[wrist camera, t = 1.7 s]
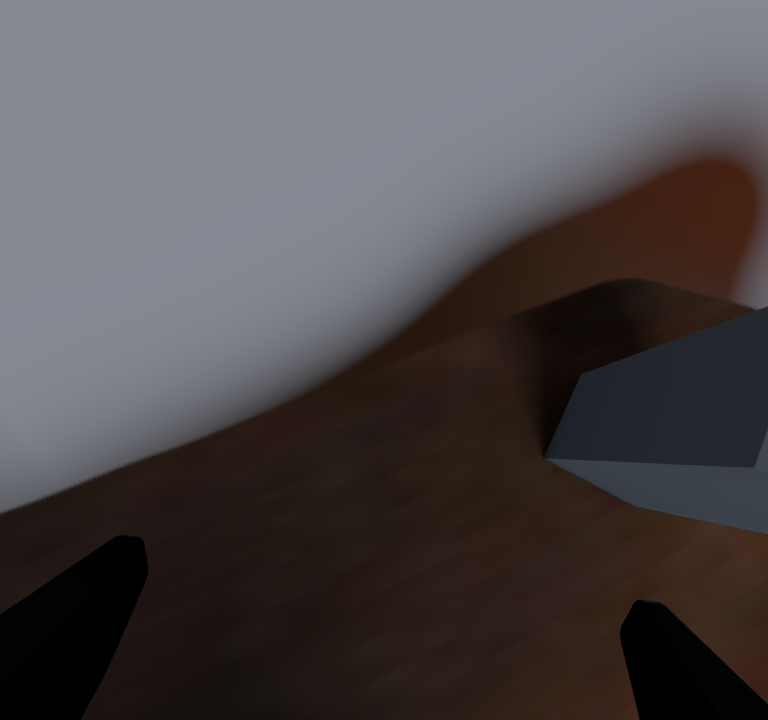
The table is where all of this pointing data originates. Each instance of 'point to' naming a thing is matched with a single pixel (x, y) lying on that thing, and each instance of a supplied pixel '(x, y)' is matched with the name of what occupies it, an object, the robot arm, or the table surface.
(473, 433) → the table surface
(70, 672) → the robot arm
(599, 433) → the grey hollow square tube
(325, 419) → the table surface
